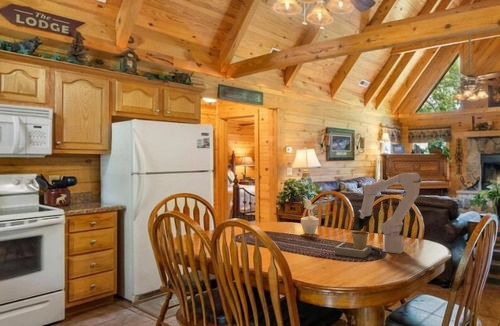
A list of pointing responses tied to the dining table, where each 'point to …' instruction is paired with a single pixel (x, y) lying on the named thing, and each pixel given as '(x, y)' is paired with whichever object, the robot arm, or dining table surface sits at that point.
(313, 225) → the potted plant
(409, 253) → the dining table surface
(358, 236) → the flower pot
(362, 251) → the pot holder
